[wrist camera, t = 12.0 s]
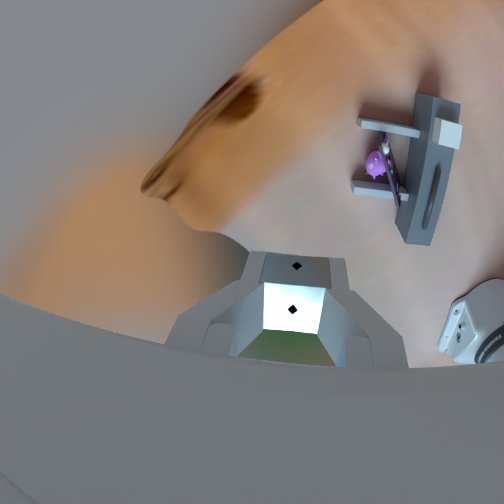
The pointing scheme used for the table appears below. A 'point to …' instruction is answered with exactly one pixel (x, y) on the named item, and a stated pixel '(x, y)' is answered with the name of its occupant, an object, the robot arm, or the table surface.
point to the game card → (384, 166)
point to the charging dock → (420, 166)
